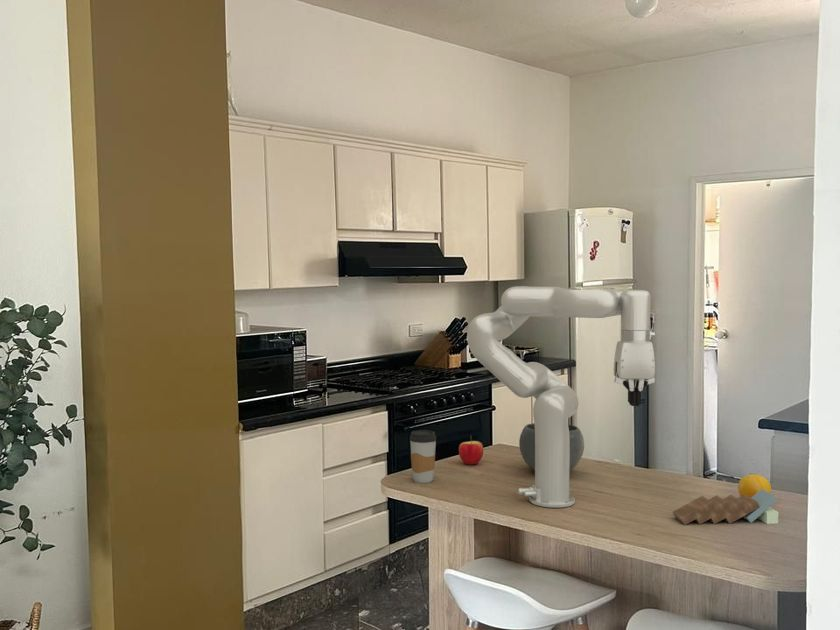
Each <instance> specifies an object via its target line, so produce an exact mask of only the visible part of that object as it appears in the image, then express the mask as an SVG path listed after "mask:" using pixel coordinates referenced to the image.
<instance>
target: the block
mask: <svg viewBox="0 0 840 630" xmlns="http://www.w3.org/2000/svg"><path fill="white" fill-rule="evenodd" d="M757 519H758V520H760V521H761V522H763V523H765V524H766V525H770V524H771V525H772V524H773V525H775V524H776V525H777V524H779V511H777V510H775V509H774V508H772V507H769V508H768V509H767V510H766V511H765V512H764V513H762V514H761V515H760V516H759V517H758V518H757Z"/></svg>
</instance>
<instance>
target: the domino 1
mask: <svg viewBox="0 0 840 630" xmlns="http://www.w3.org/2000/svg"><path fill="white" fill-rule="evenodd" d="M713 509H715V506H714V504H713V502H711V501H710V500H709V498H707V497H705V496H703V495H700V496H699V497H697V498H695V499H693V500H692V501H690V502H688V503H687V504H685V505H683V506H681V507H679V508H678V509H675V510H673V511H672V514H673V516H674V518H675V519H677V521H679V522H680V523H682V524H683V525H684V526H687V525H688V524H689V523H690V524H691V522H693V521H694V520H695V519H697V518H699V517H701V516H703V515H704V514H706V513H708V512H710V511H712V510H713Z"/></svg>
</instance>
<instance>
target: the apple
mask: <svg viewBox="0 0 840 630" xmlns="http://www.w3.org/2000/svg"><path fill="white" fill-rule="evenodd" d="M470 438H472V435H470ZM458 455H459V457H460V458H459V459H460V460H461V461H462V462H463V463H464V464H466V465H477V464H478V463H480V462H481V460H482V458H483V455H484V445H483V443H482V442H480V441H478V440H470V441H463V442H461V443H460V444H459V446H458Z"/></svg>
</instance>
